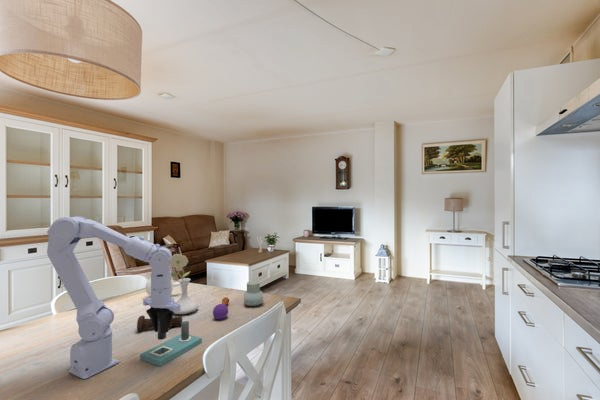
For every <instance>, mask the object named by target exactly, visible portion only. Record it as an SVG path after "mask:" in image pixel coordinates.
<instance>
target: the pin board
mask: <svg viewBox="0 0 600 400" xmlns="http://www.w3.org/2000/svg"><path fill="white" fill-rule="evenodd" d="M180 326H181V327H180V329H181V330H180V333H179V334H178V335H176V336H174V337H171V338H170V339H168V340H166V341H163V342H162V343H160V344H157V345H156V346H153V347H151V348H149V349H147V350H146V351H143V352H141V353H139V359H140V360H141V361H144V362H147V363H148V364H149V363H150V364H153V365H154V366H157V367H162V366H164V365H165V364H167V363H169V362H171V361H173V360H174V359H176V358H178V357H180V356H181V355H183V354H184V353H186V352H188V351H190V350H191V349H193V348H195V347H197V346H198V345H200V344H202V342H203V338H202V337H198V336H195V335H193V334H190V329H189V328H190V322H189V321H188V320H186V321H182V323H181V325H180Z"/></svg>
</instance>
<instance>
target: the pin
mask: <svg viewBox="0 0 600 400" xmlns="http://www.w3.org/2000/svg"><path fill="white" fill-rule="evenodd" d="M157 330H158V332H157V340H165V339H167V332H166V333H164V334H161V331H160V322H159V318H158V316H157Z"/></svg>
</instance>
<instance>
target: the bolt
mask: <svg viewBox="0 0 600 400" xmlns="http://www.w3.org/2000/svg"><path fill="white" fill-rule="evenodd" d="M182 322H183V317H182V316H173V317H172V320H171V323H170V327H169V330H170V329H172V327H176V326H181V323H182ZM152 328H153V324H152V321H151V319H150V318H146V317H145V315H139V316H138V319H137V322H136V331H137V333H143V331H144V330H145V329H152ZM153 329H154V328H153Z"/></svg>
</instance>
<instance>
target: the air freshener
mask: <svg viewBox="0 0 600 400" xmlns="http://www.w3.org/2000/svg"><path fill="white" fill-rule="evenodd" d="M263 293H264V292H263V291H262V290H261V283H260V281H257V280H249V281H247V282H246V291H245V292H243V298H244V299H243V300H244V301H243V303H244V305H245V306H247V307H248V306H249V307H255V306H256V307H257V306H260V305H262V304H263V302H264V294H263Z"/></svg>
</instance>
